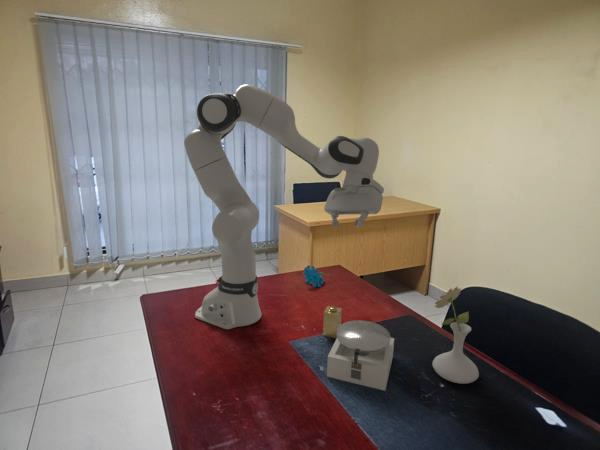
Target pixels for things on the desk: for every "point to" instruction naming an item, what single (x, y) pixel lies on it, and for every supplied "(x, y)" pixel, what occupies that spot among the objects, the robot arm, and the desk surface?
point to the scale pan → (363, 337)
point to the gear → (313, 276)
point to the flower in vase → (455, 347)
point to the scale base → (360, 366)
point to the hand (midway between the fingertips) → (345, 226)
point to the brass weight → (331, 321)
